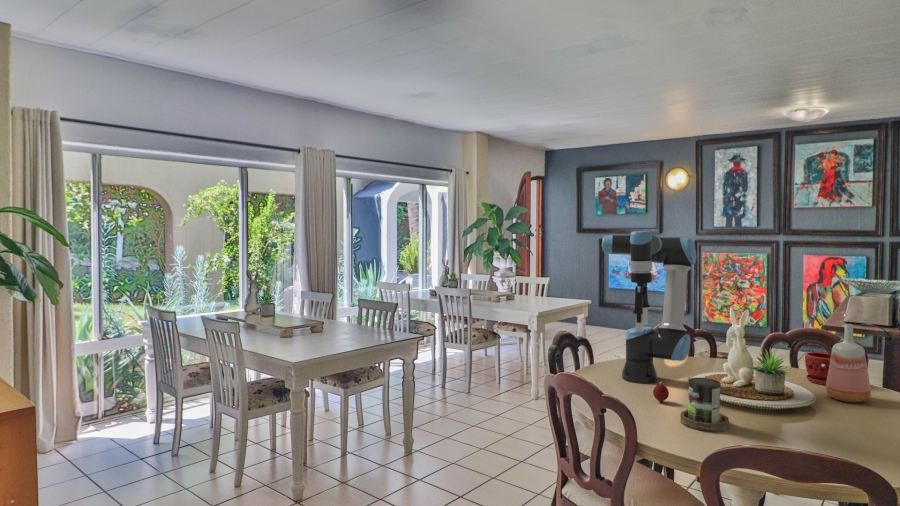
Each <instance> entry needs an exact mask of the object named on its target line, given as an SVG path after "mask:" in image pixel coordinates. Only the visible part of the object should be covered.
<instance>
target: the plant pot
mask: <svg viewBox="0 0 900 506" xmlns="http://www.w3.org/2000/svg"><path fill="white" fill-rule="evenodd" d="M804 355H805V356H804V365H805V369H806V372H807V374H806V375H805V376H806V377H805V378H806V379H807V380H808V381H809V382H812V383H813V384H814V383H815V384H818V385H825V386H826V381H827V375H828V370H829V364H830V359H831V353H826V352H825V353H824V352H811V351H810V352H806V353H805V354H804ZM822 365H824V366H822Z"/></svg>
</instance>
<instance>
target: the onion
mask: <svg viewBox="0 0 900 506" xmlns="http://www.w3.org/2000/svg"><path fill="white" fill-rule="evenodd" d="M652 395H653V396H654V398H655V400H657V401H658V402H660V403H663V402H664V401H666V400H667V399H668V398H669V395H670V391H669V389H668V388H667V386H666V385H664V383H663V381H660V382H659V384H657V385H655V386H654V387H653V390H652Z"/></svg>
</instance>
